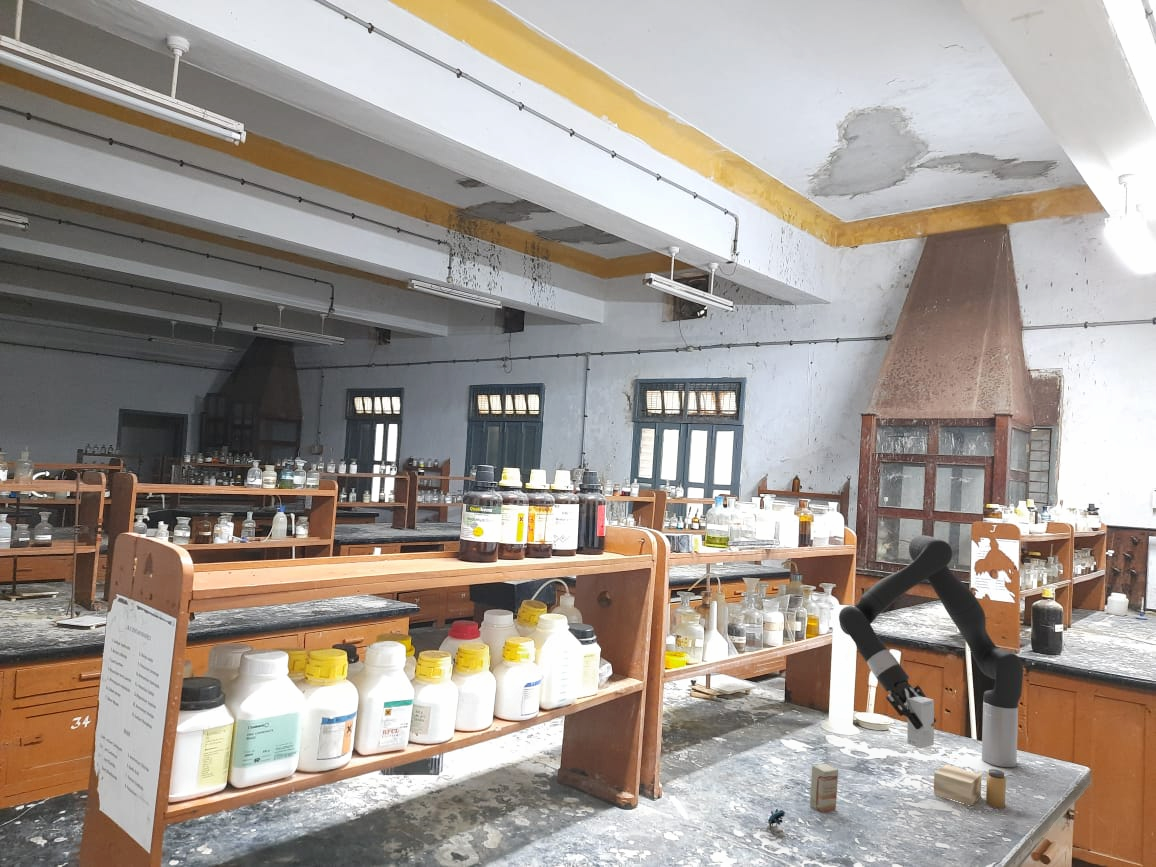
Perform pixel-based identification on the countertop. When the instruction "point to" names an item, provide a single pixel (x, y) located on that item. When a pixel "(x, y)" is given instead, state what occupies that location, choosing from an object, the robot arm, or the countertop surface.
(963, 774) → the beech block
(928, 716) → the skincare box
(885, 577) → the robot arm
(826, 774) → the skincare box
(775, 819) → the sculpture
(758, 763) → the countertop surface
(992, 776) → the amber jar
